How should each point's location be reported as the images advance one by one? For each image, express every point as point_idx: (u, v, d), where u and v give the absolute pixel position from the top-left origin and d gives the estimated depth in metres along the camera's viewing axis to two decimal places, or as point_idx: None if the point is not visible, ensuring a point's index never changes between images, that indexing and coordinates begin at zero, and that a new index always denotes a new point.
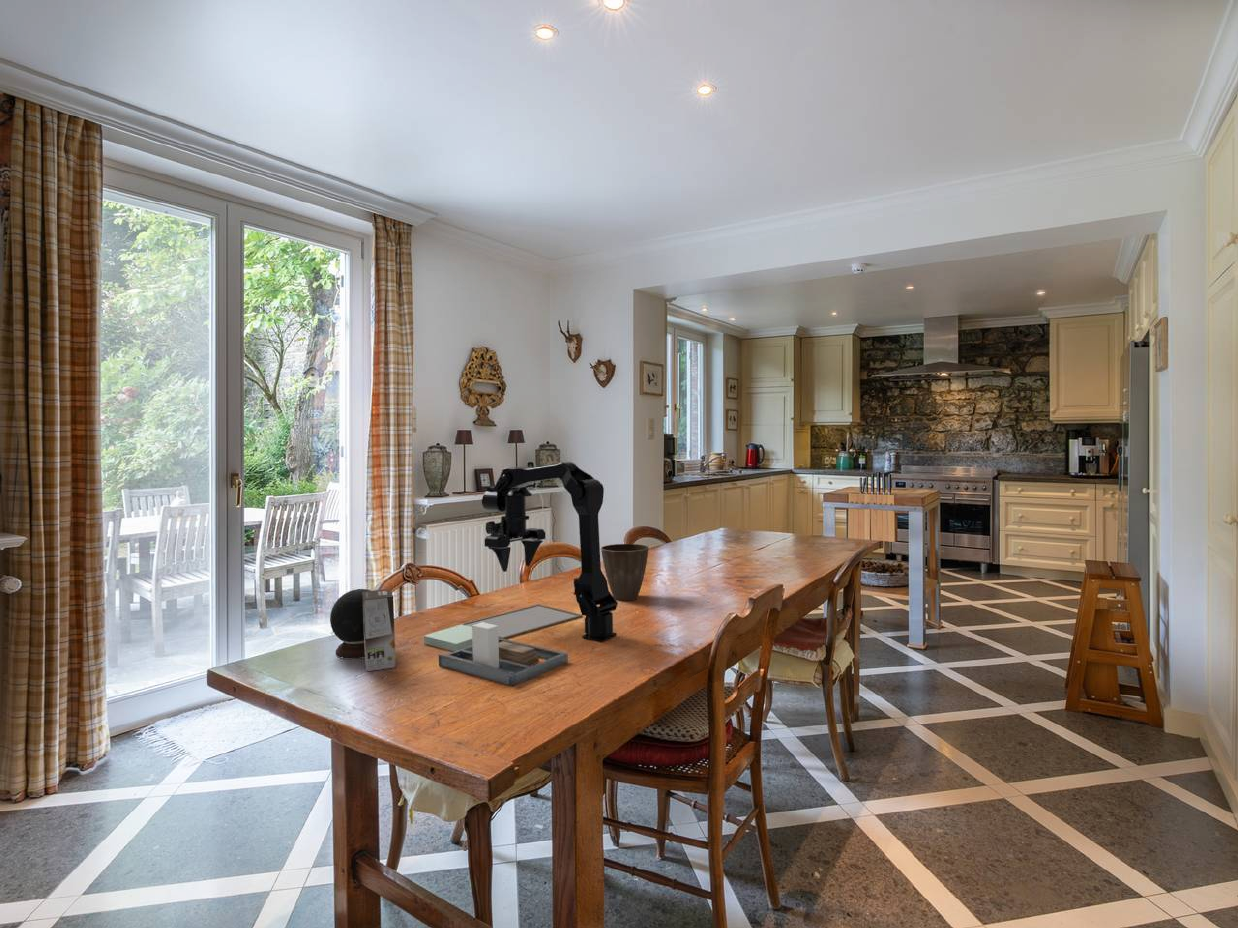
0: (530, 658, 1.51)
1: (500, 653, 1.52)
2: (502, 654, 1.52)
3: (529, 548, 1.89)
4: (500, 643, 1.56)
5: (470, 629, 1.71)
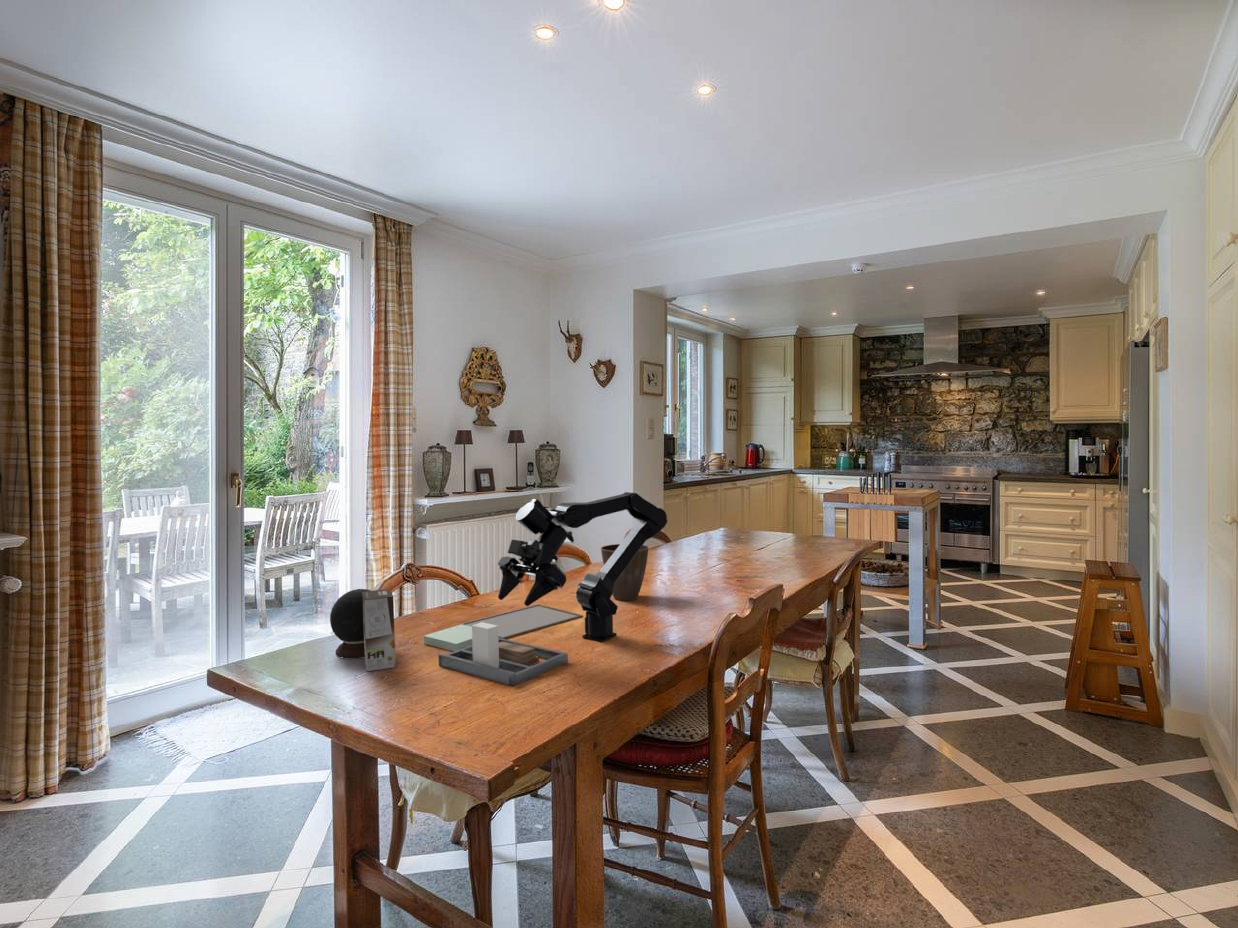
0: (530, 658, 1.51)
1: (500, 653, 1.52)
2: (502, 654, 1.52)
3: (511, 582, 1.59)
4: (499, 643, 1.55)
5: (470, 629, 1.71)
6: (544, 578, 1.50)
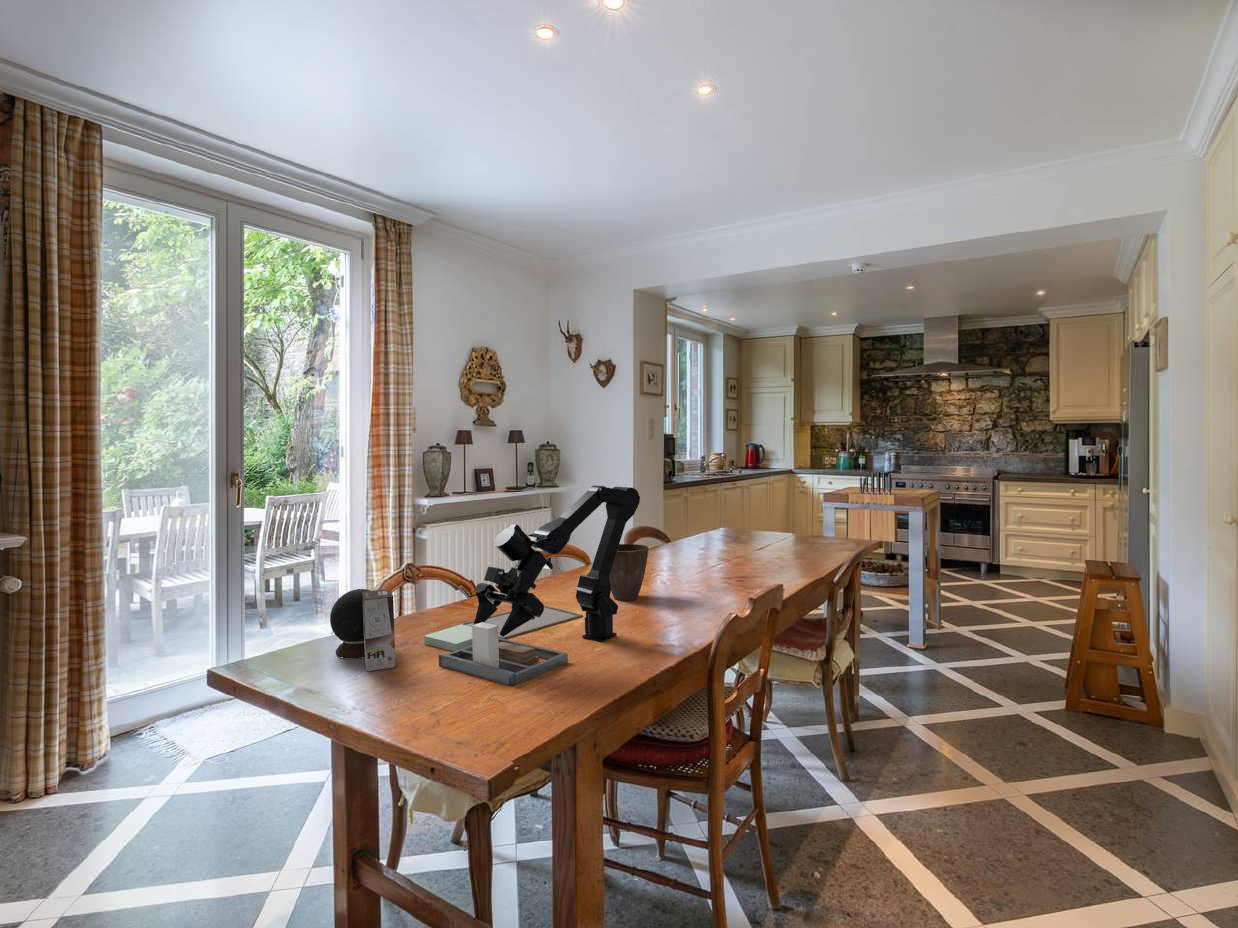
0: (531, 658, 1.51)
1: (500, 653, 1.52)
2: (502, 654, 1.52)
3: (487, 610, 1.53)
4: (499, 644, 1.55)
5: (470, 629, 1.71)
6: (521, 607, 1.45)
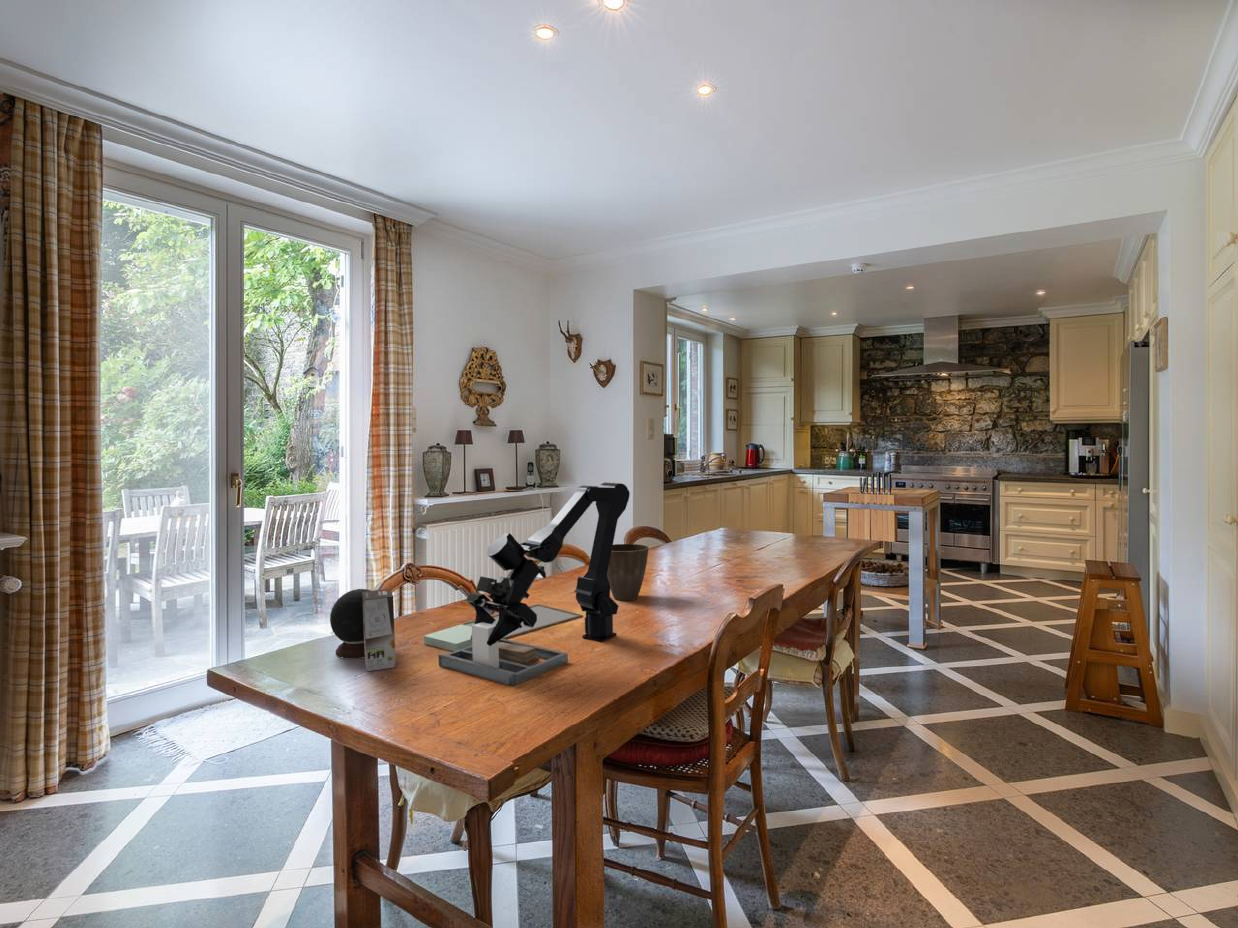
0: (531, 658, 1.51)
1: (500, 654, 1.52)
2: (502, 654, 1.52)
3: (485, 621, 1.50)
4: (498, 644, 1.55)
5: (470, 629, 1.71)
6: (508, 617, 1.44)
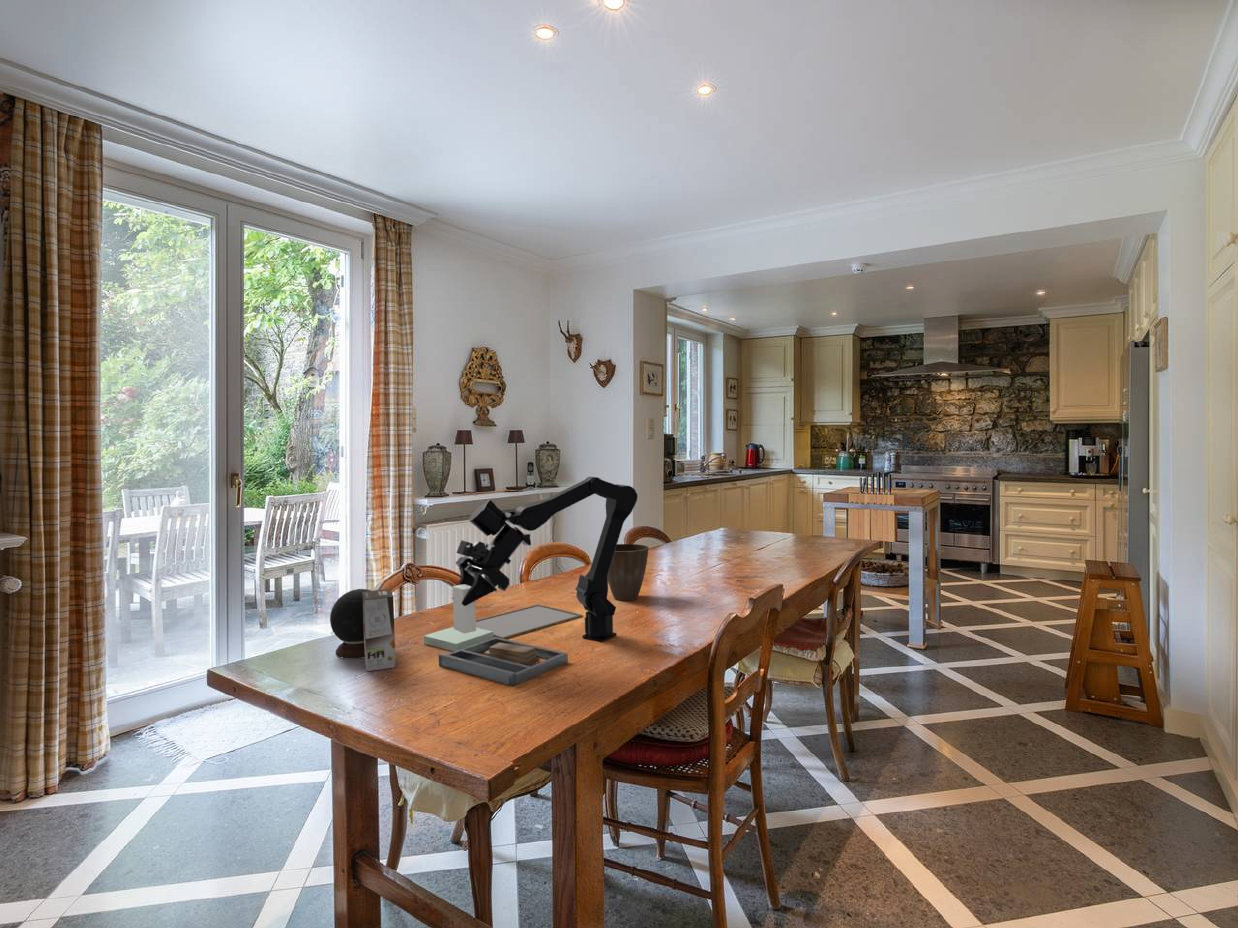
0: (531, 658, 1.51)
1: (500, 654, 1.51)
2: (502, 655, 1.51)
3: (468, 584, 1.57)
4: (497, 644, 1.55)
5: None
6: (481, 579, 1.50)
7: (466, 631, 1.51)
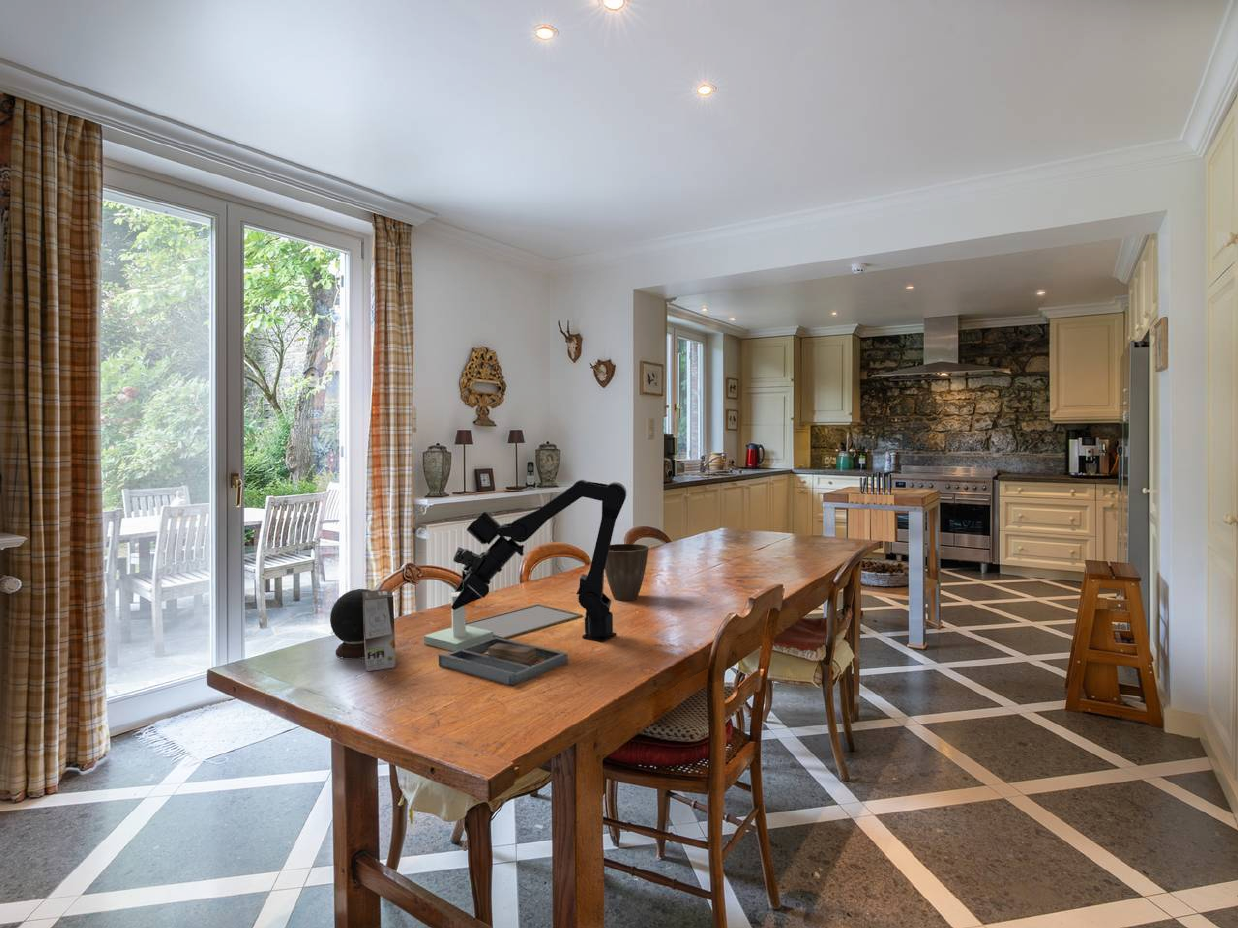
0: (532, 657, 1.51)
1: (500, 655, 1.51)
2: (502, 655, 1.51)
3: None
4: (496, 645, 1.54)
5: (470, 629, 1.71)
6: (466, 586, 1.61)
7: (455, 635, 1.66)
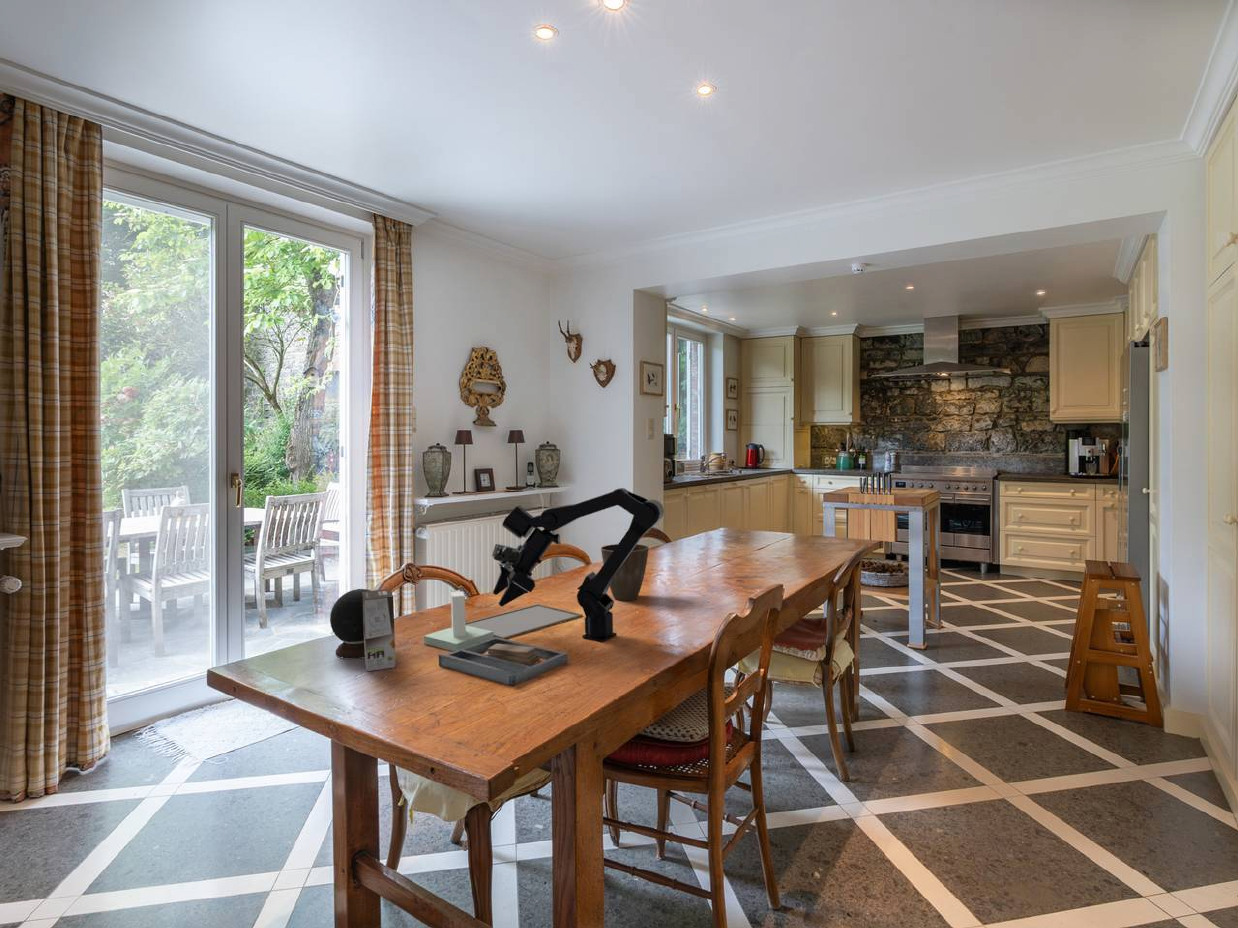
0: (532, 657, 1.51)
1: (500, 655, 1.51)
2: (502, 656, 1.51)
3: (507, 579, 1.76)
4: (496, 645, 1.54)
5: (470, 629, 1.71)
6: (512, 583, 1.64)
7: (455, 635, 1.66)
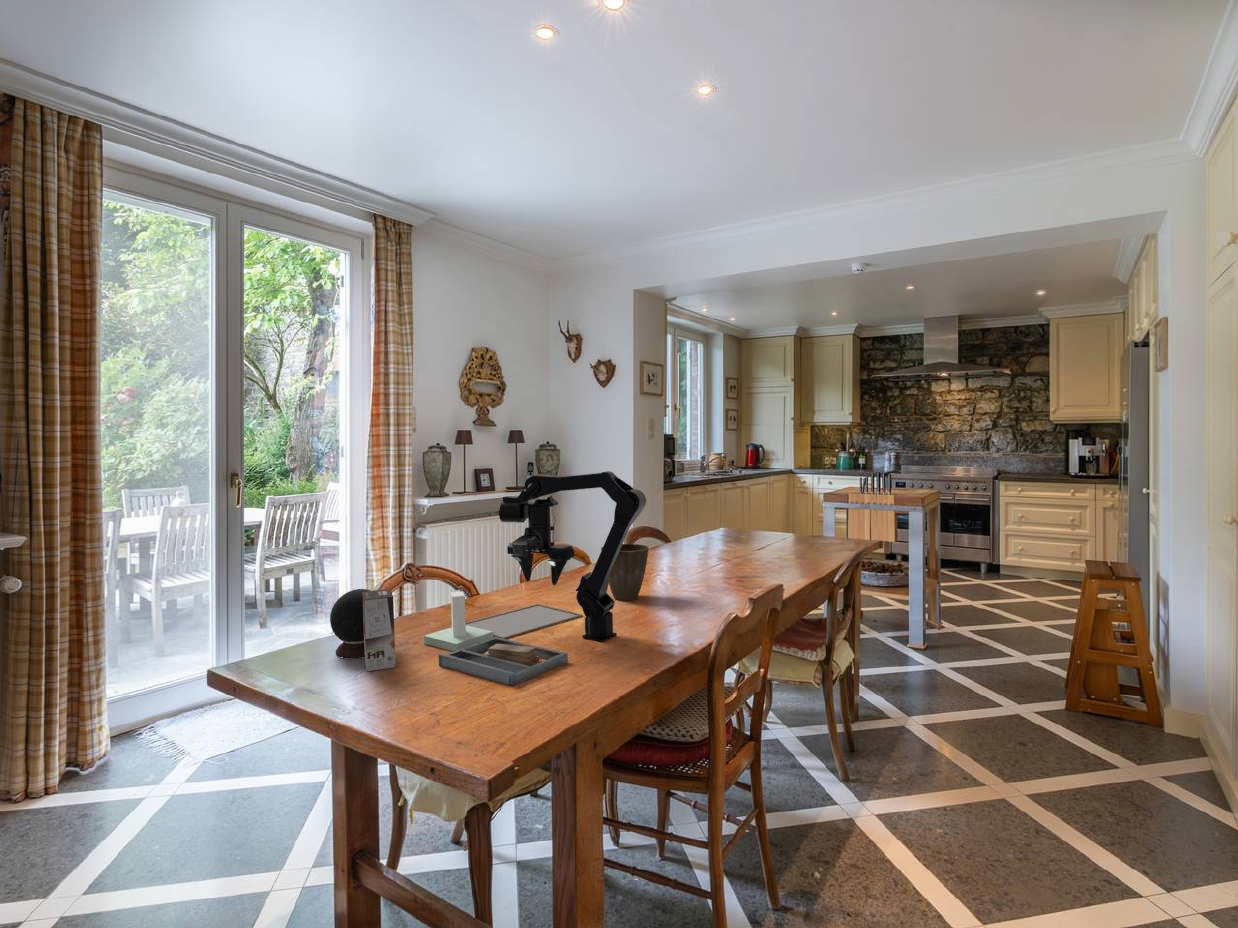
0: (532, 657, 1.51)
1: (500, 655, 1.51)
2: (502, 656, 1.51)
3: (528, 561, 1.77)
4: (496, 645, 1.54)
5: (470, 629, 1.71)
6: None
7: (455, 635, 1.66)
